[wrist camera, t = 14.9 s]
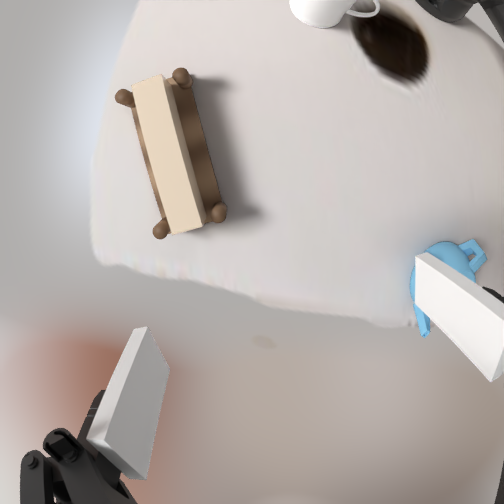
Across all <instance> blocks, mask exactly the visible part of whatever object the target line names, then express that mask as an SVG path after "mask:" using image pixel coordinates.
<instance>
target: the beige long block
mask: <svg viewBox="0 0 504 504" xmlns="http://www.w3.org/2000/svg"><path fill="white" fill-rule="evenodd" d="M131 87H132V92H133V96H134V101H135V105H136V109H137V113H138V118H139V122H140V126H141V130H142V134H143V137H144V141H145V145H146V149H147V153H148V156H149V160H150V163H151V167H152V171H153V174H154V178H155V181H156V184H157V188H158V191H159V195H160V198H161V201H162V204H163V208H164V211H165V214H166V217H167V220H168V223H169V227H170V230H171V233H172V235H175V234H178V233H182V232H185V231H189V230H192V229H196V228H200V227H203V224H204V222H205V219H206V217H207V215H206V212H205V208H204V205H203V202H202V198H201V195H200V191H199V188H198V184H197V180H196V177H195V173H194V170H193V166H192V162H191V159H190V155H189V151H188V148H187V144H186V140H185V137H184V133H183V129H182V125H181V121H180V118H179V114H178V110H177V106H176V102H175V98H174V94H173V90H172V86H171V84H170V83H169V82H168V81H167V79H166V78H165V77H164V76H163V75H162V74H160V75H157V76H154V77H151V78H149V79H146V80H143V81H141V82H138V83H135V84H133V85H131Z"/></svg>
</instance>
